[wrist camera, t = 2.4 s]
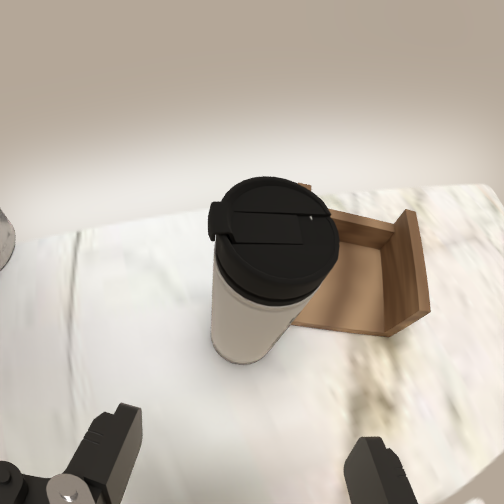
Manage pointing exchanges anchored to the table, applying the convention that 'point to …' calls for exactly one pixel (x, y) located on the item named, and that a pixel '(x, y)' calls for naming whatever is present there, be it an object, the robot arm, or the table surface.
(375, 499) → the robot arm
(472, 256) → the table surface
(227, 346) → the travel mug
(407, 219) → the cradle
